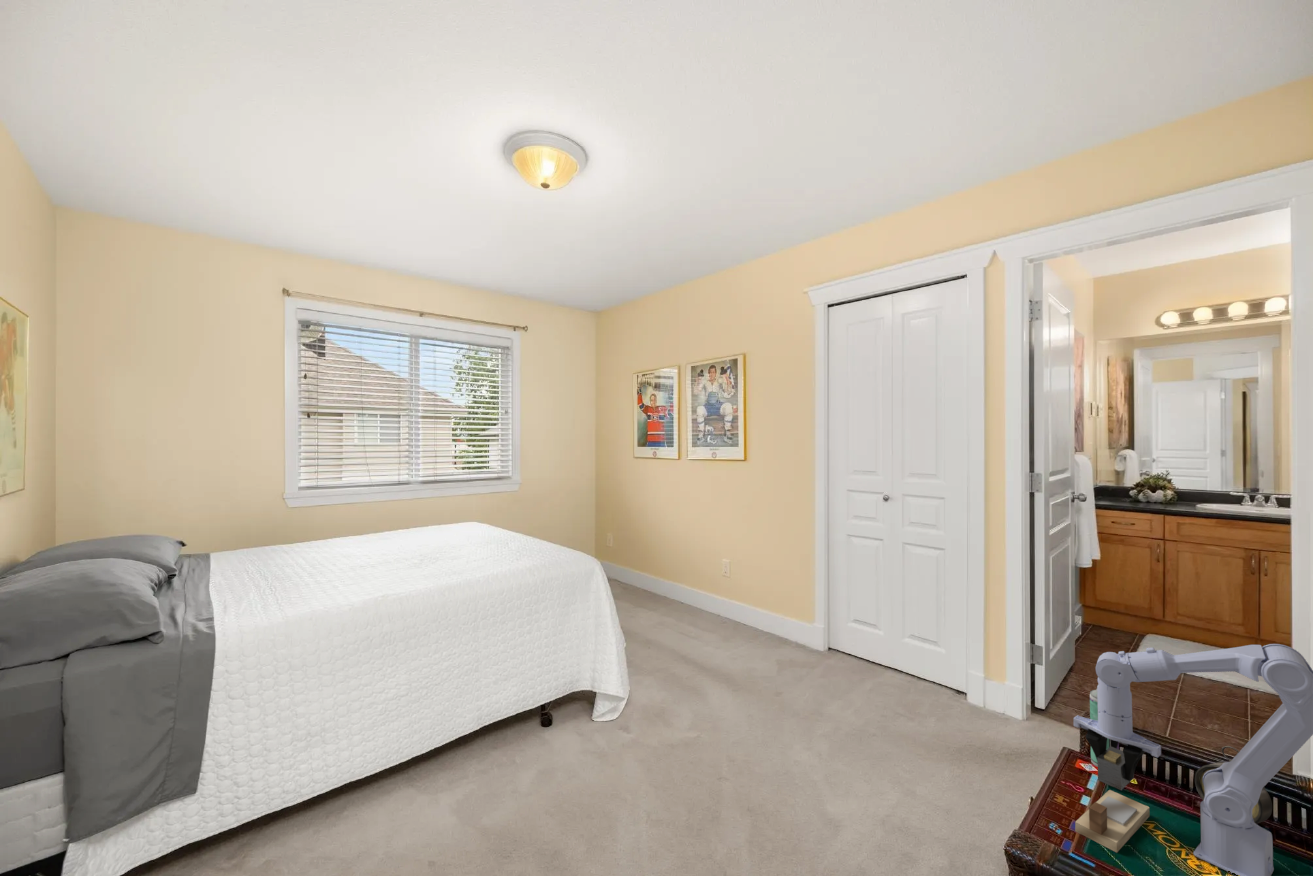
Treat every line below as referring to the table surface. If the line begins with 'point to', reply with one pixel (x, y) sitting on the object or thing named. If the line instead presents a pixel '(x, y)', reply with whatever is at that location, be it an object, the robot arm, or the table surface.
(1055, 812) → the table surface
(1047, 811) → the table surface
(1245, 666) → the robot arm
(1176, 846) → the table surface
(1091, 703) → the spray can
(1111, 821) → the hand plane
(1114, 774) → the lever cap
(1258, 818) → the alarm clock
